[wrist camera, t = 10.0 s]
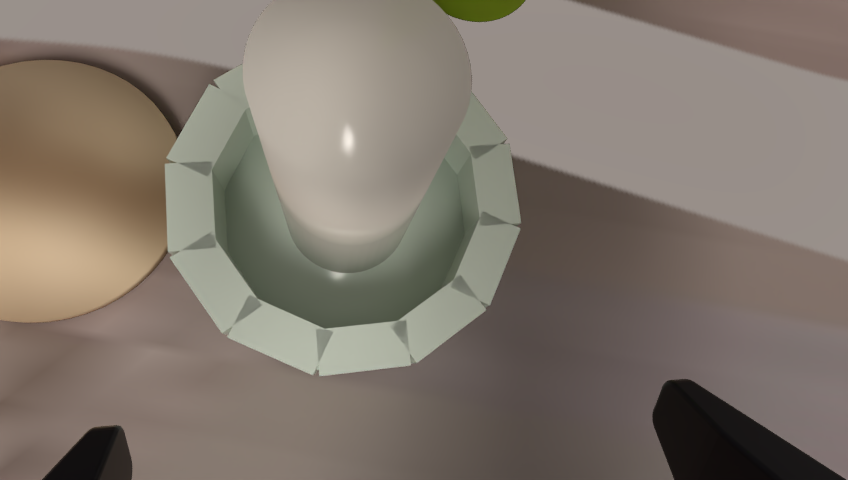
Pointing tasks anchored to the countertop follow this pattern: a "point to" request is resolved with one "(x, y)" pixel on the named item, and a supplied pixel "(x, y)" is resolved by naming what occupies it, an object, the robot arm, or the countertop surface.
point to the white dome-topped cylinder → (354, 117)
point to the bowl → (320, 288)
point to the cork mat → (77, 189)
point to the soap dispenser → (479, 9)
